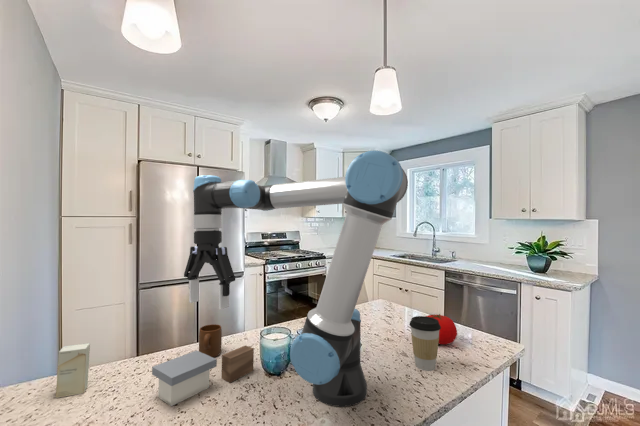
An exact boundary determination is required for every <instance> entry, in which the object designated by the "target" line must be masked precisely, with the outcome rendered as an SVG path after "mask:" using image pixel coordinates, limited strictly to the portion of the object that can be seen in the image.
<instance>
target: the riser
mask: <svg viewBox="0 0 640 426" xmlns="http://www.w3.org/2000/svg"><path fill="white" fill-rule="evenodd" d="M254 350H255V348H254V347H251V346H249V345H243V346H241V347H238V348H236V349H233V350H230V351H228V352H225V353H223V354H221V375H220V376H221V380H223V381H225V382H227V383H229V384H231V383H233V382H235V381H236V380H239V379H241V378H242V377H244V376H246V375H248V374H251V373H252V372H254V369H255V368H254V365H255V364H254V361H255V360H254V358H255V357H254V355H255V354H254V353H255V351H254Z"/></svg>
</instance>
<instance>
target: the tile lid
mask: <svg viewBox="0 0 640 426" xmlns="http://www.w3.org/2000/svg"><path fill="white" fill-rule="evenodd" d="M216 367H217V358H216V357H214V358H213V357H211V356H208V355H206V354H204V353H201V352H199V350H197V349H196V350H194V351H190V352H189V353H186V354H183V355H181V356H177V357H174V358H173V359H169V360H167V361H164V362H161V363H158V364H156V365H154V366H151V375H152V376H154V377H156V378H157V379H158V380H159V379H160V380H162V381H164V382H165V383H167V384H169V385H170V386H173V385H176V384H178V383H180V382H182V381H185V380H187V379H189V378H191V377H194V376H196V375H198V374H200V373H203V372H205V371H207V370H209V369H210V370H212V369H213V368H216Z"/></svg>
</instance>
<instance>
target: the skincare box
mask: <svg viewBox="0 0 640 426" xmlns="http://www.w3.org/2000/svg"><path fill="white" fill-rule="evenodd" d="M90 348H91V343H90V342H89V343H88V342H87V343H79V344H72V345H64V346H62V347H61V349H60V350H59V351H58V359H57V371H56V389H55V399H57V398H58V399H59V398H63V397H65V398H66V397H70V396H76V395H77V396H78V395H82V394H85V391H86V390H87V388H88V384H89V383H88V382H89V367H90V351H91V349H90Z"/></svg>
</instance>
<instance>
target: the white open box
mask: <svg viewBox="0 0 640 426" xmlns="http://www.w3.org/2000/svg"><path fill="white" fill-rule="evenodd" d="M210 370H211V369H209V370H207V371H205V372H203V373H200V374H198V375H196V376H194V377H191V378H189V379H187V380H185V381H182V382H180V383H178V384H176V385H173V386H170V385H169V384H167V383H165V382H164V381H162V380H160V379H159V378H158V390H157V391H158V393H157V394H158V395H157V396H158V399H159V400H161V401H162V402H164V403H166V404H167V405H168V406H170V407H173V406H175V405H177V404H179V403H181V402H183V401H185V400H187V399H188V398H191V397H193V396H195V395H197V394H199V393H201V392H203V391H205V390H207V389H209V388H210Z"/></svg>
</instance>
